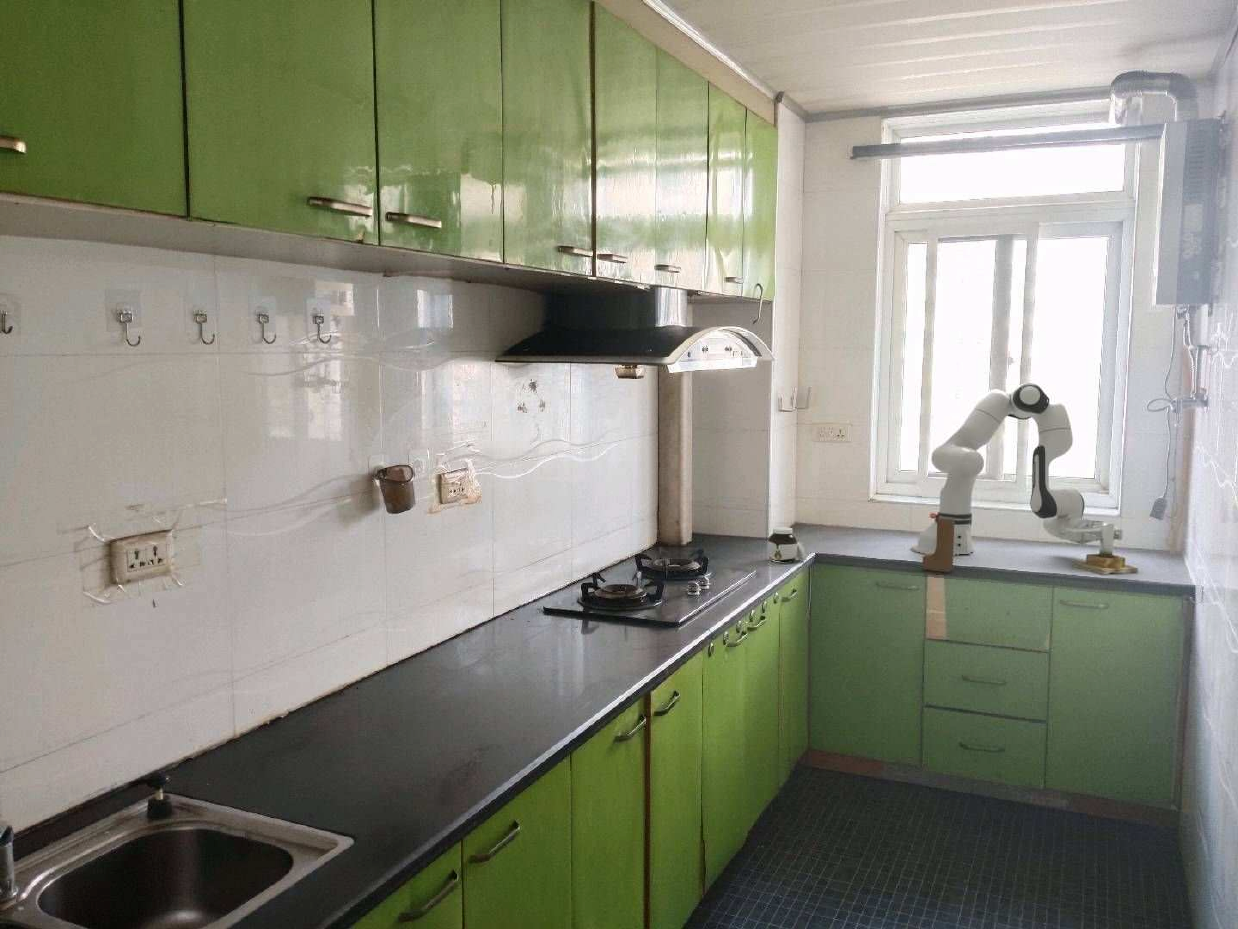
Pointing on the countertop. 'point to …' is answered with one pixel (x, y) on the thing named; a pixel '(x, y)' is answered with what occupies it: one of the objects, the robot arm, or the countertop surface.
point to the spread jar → (784, 546)
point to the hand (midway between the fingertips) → (1108, 537)
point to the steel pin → (1106, 540)
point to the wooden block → (942, 547)
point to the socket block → (1105, 564)
